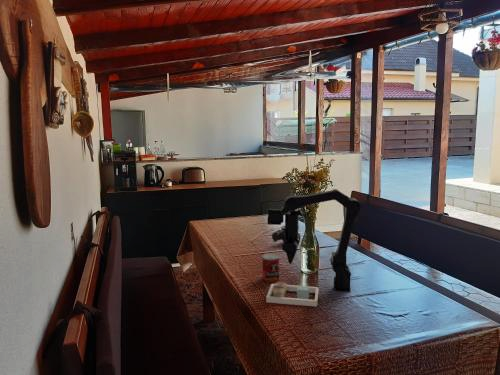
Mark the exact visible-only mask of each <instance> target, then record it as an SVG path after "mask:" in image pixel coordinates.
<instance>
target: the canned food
mask: <svg viewBox="0 0 500 375" xmlns="http://www.w3.org/2000/svg"><path fill="white" fill-rule="evenodd" d="M262 279H263V281H265V282H268V283H275V282H276V283H277V281H279V279H280V255H279V254H276V253H265V254H263V255H262Z"/></svg>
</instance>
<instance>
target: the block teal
mask: <svg viewBox="0 0 500 375" xmlns="http://www.w3.org/2000/svg"><path fill="white" fill-rule="evenodd" d="M297 286H298V287H297V292H296V298H297V299H309V287H310V286H309V285H299V284H298V285H297Z"/></svg>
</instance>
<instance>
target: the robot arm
mask: <svg viewBox="0 0 500 375" xmlns="http://www.w3.org/2000/svg"><path fill="white" fill-rule="evenodd" d="M329 201H336V202H337V203H339V205H342V206H343V207H344V220H343V222H342V223H343V224H342V228H341V232H340V237H339V241H338V243H337V248H336V251H335V252H334V251H331V257H330V259H329V262H330V266H331V269H332V271H333V272H334V273H335V274H334V276H333V288H334V291H337V292H338V291H339V292H351V275H352V272H351V270H350V268H349V267H350V266H348V265H347V252H348V248H349V244H350V239H351V235H352V232H353V228H354V223H355V221H356V219H357V218H358V216H359V214H360V211H361V210H362V205H361V203H360V202H359V200H358V199H356V198H354V197H349V196H348V195H346V194H344V193H343V192H341V191H339V189H336V188H334V189H331V190H327V191H321V192H317V193H310V194H290V195H288V196H286V198H285V201H284V204H283V205H282V206H281V209H278V208H276V209H275V208H268V209H267V212H268V213H267V225H268V226H269V225H271V226H272V225H273V226H274V225H275V226H282V223H284V225H285V228H284V230H281V229H279V230H280V231H277V230H276V231H277V232H276V231H274V232H272V233H271V240H272V241H273V242H275V243H276V242H278V241H280V240H282V239H283V240H286V241H284V242H283V240H282V243H281V250H282V251H283V252H285V254H286V257H287V261H288V264H289V265H292V263H293V261H294V258H295V256H296V254H297V251H298V247H299V245H300V241H301V233H300V232H299V229H300V227H299V217H301V216H303V215H304V212H303V211H302V210H301V208H304V207H305V206H308V205H314V204H319V203H323V202H329Z"/></svg>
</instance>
